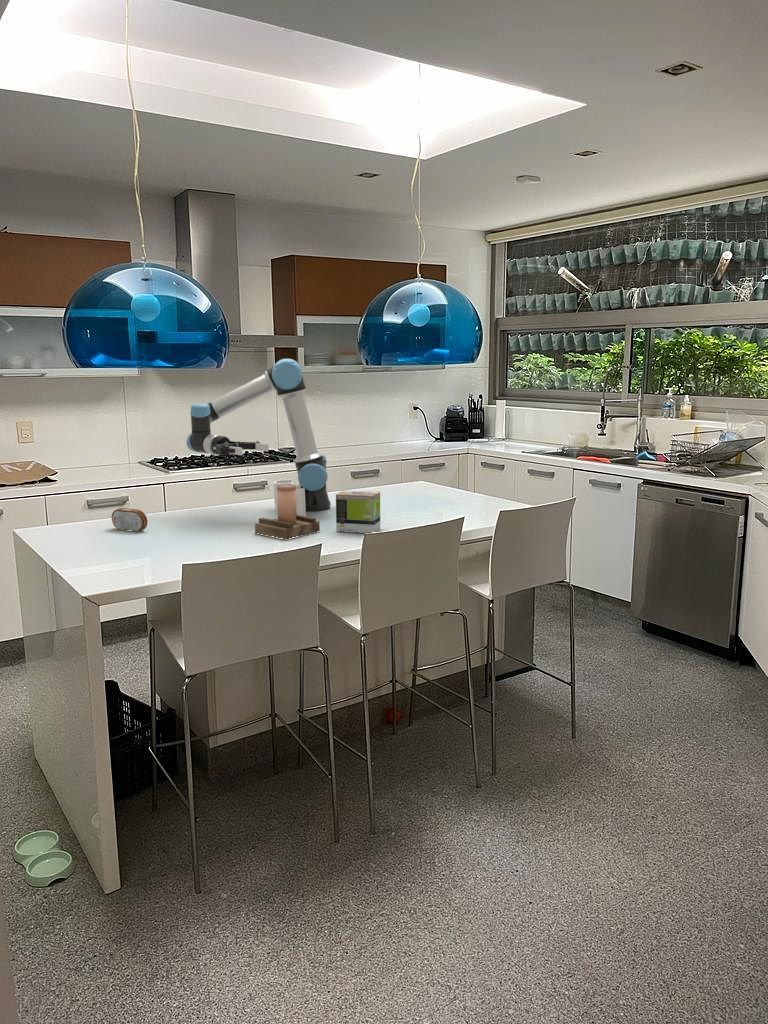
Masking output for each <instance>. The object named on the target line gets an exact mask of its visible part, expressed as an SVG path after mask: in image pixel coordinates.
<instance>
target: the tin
mask: <svg viewBox="0 0 768 1024" xmlns="http://www.w3.org/2000/svg"><path fill="white" fill-rule="evenodd" d="M111 521H112V525H113V526H114V527H115V528H116V529H118V530H119V529H124V530H123V531H125V530H132V531H131V532H133V531H139V532H141V530H142V531H144V530H145V529H146V528H147V527H148V518H147V516H146V514H145V513H144V511H142V510H140V509H135V508H128V507H127V508H126V507H119V508H117V509H115V510H114V511H113V512H112V513H111Z"/></svg>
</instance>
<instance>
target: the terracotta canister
mask: <svg viewBox="0 0 768 1024" xmlns="http://www.w3.org/2000/svg"><path fill="white" fill-rule="evenodd" d="M296 485H297V484H296ZM296 485H294V484H280V485H277V506H278V511H277V518H278V521H282V522H287V523H292V524H295V523H297V512H296Z"/></svg>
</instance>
